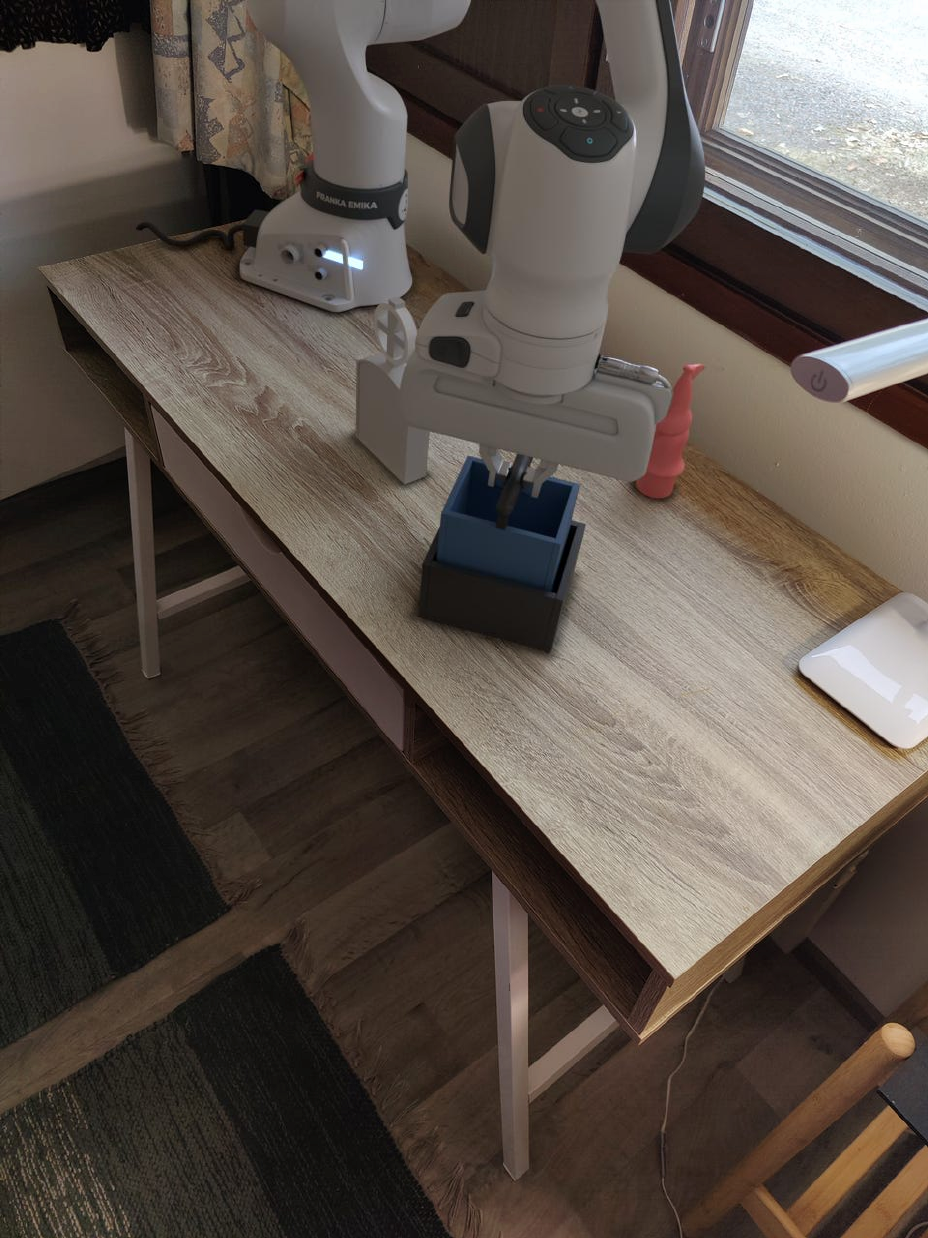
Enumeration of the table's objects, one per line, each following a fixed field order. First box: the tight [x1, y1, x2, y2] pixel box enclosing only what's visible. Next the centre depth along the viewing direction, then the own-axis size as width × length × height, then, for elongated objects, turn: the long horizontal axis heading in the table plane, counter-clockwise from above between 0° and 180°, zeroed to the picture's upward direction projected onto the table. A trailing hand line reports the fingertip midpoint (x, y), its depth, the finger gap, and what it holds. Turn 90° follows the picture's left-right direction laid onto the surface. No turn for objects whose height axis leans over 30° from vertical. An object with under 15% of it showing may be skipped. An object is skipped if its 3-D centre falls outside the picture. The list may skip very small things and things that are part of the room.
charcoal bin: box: [417, 519, 587, 653], centre depth 87 cm, size 12×10×7 cm
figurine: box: [635, 363, 706, 499], centre depth 97 cm, size 5×5×15 cm
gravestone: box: [355, 296, 430, 485], centre depth 95 cm, size 3×9×18 cm, turn 37°
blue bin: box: [436, 453, 581, 592], centre depth 83 cm, size 10×9×11 cm
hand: (514, 487), depth 80 cm, fingers closed on blue bin
